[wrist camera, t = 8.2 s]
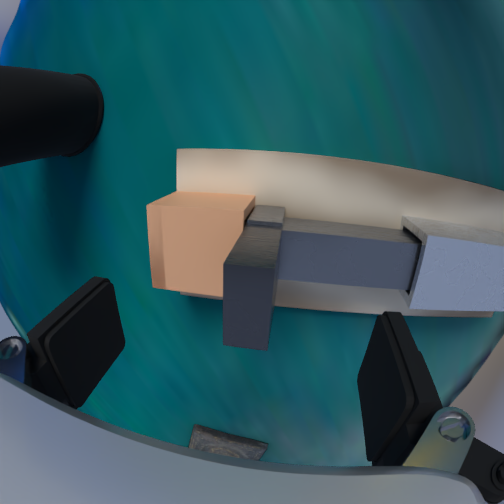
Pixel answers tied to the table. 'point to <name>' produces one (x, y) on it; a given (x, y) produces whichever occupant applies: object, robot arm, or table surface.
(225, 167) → the base board
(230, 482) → the robot arm
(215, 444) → the embossing press
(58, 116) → the aerosol can
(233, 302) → the grey bar
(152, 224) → the socket
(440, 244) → the pale blue rectangular box
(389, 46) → the table surface
